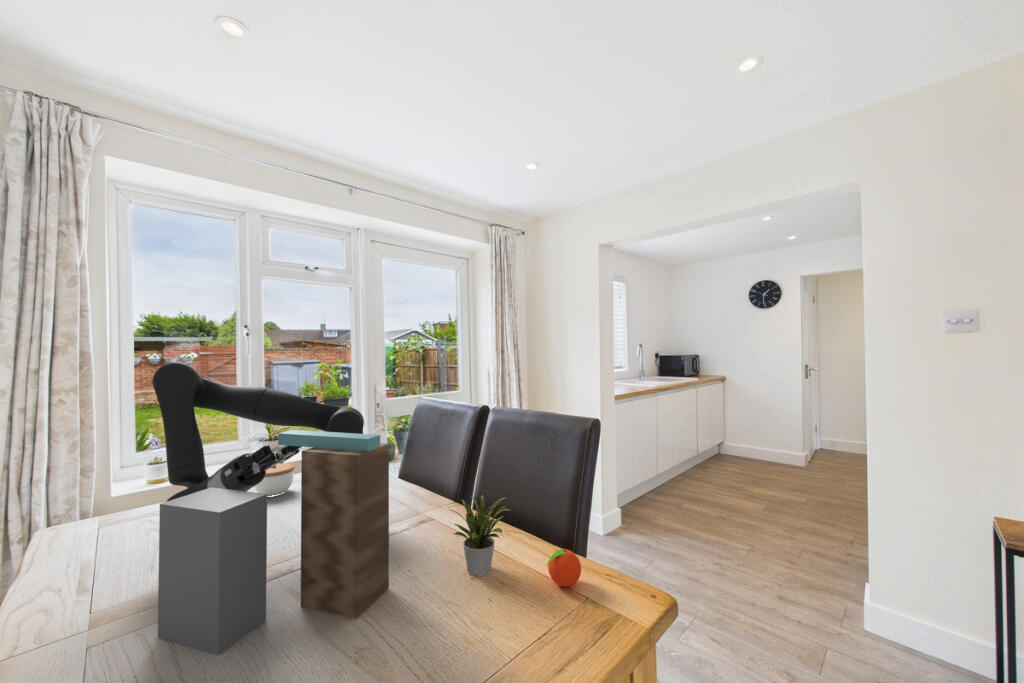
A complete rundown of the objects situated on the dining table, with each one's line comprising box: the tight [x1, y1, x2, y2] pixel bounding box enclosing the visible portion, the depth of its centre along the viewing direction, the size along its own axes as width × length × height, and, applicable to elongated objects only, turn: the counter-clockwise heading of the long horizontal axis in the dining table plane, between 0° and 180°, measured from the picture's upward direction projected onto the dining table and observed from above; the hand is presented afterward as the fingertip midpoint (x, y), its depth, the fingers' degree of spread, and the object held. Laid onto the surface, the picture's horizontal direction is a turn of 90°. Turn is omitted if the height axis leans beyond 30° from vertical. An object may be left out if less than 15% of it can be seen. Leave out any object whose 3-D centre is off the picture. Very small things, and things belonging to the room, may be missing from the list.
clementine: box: [546, 548, 582, 588], centre depth 85 cm, size 8×7×7 cm
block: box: [277, 429, 381, 451], centre depth 84 cm, size 22×4×2 cm, turn 73°
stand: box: [300, 442, 390, 620], centre depth 82 cm, size 13×10×30 cm
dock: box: [157, 487, 268, 656], centre depth 73 cm, size 14×9×23 cm, turn 73°
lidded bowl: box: [253, 462, 295, 496], centre depth 142 cm, size 13×13×11 cm
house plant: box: [449, 494, 510, 576], centre depth 92 cm, size 14×14×16 cm
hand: (286, 444), depth 87 cm, fingers open, 8 cm apart
